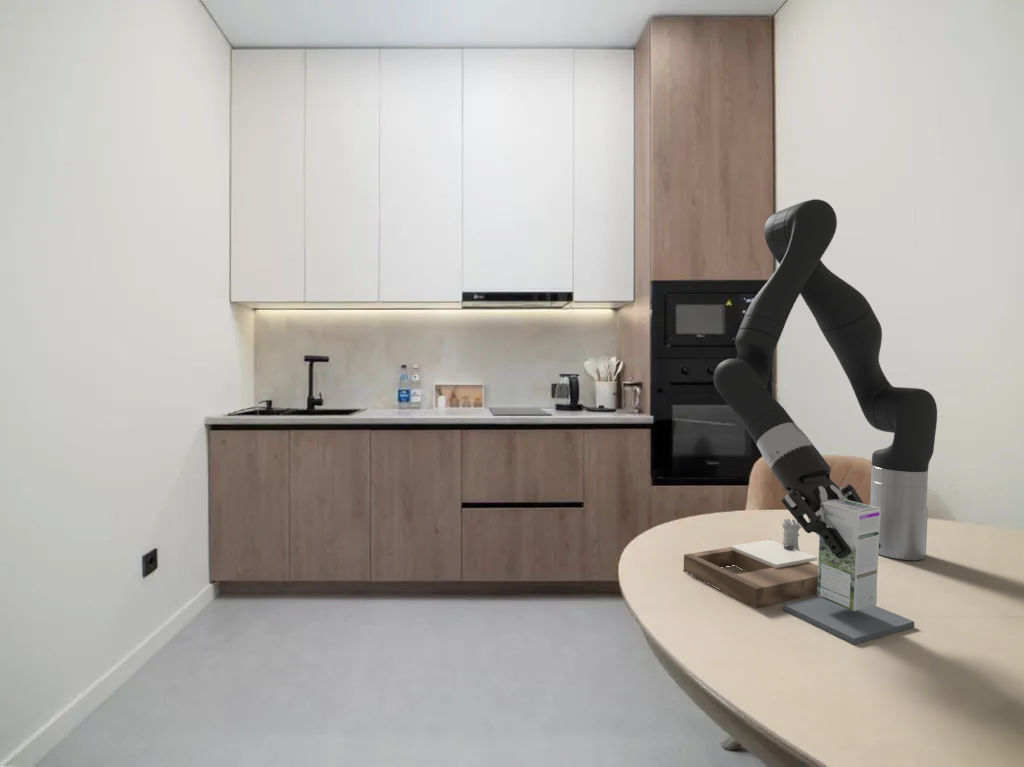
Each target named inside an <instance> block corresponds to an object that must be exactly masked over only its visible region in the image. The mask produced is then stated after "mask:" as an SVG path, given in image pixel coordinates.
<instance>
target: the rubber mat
mask: <svg viewBox="0 0 1024 767" xmlns="http://www.w3.org/2000/svg"><path fill="white" fill-rule="evenodd" d="M783 611H784V612H787V613H788V614H791V615H793V616H795V617H797V618H799V619H801V620H803V621H806V622H807V623H810V624H812V625H813V626H815V627H818V628H820V629H821V630H824V631H826V632H828V633H829V634H832V635H834V636H836V637H839V638H840V639H842V640H843V641H846V642H848V643H850V644H853V645H856V644H857V645H858V644H860V643H864V642H867V641H870V640H874V639H877V638H882V637H884V636H889V635H892V634H896V633H898V632H901V631H905V630H908V629H909V630H910V629H912V628H915V621H914V620H911V619H909V618H907V617H904V616H902V615H899V614H897V613H895V612H892V611H890V610H887V609H885V608H882V607H880V606H877V605H874V606H871V607H868V608H865V609H861V610H857V611H852V610H849V609H847V608H845V607H842V606H840V605H838V604H835V603H833V602H831V601H828V600H826V599H823V598H821V597H819V596H816V597H811V598H806V599H803V600H798V601H793V602H790V603H786V604H783Z"/></svg>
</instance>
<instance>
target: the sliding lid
mask: <svg viewBox="0 0 1024 767" xmlns="http://www.w3.org/2000/svg"><path fill="white" fill-rule="evenodd" d="M782 544H783V543H779V542H777V541H774V540H771V539H766V540H760V541H753V542H748V543H747V542H746V543H742V544H736V545H730V546H729V547H730V549H731V550H733V551H736V552H738V553H740V554H743V555H745V556H748V557H750V558H753V559H755V560H757V561H760V562H762V563H765V564H767V565H769V566H772V567H774V568H780V567H785V566H790V565H796V564H801V563H806V562H810V563H813V562H815V561H817V562H818V557H817V556H815V555H813V554H810V553H807V552H804V551H802V550H800V549H799V550H800V551H799V550H796V549H793V545H790V544H784V545H782Z"/></svg>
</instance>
